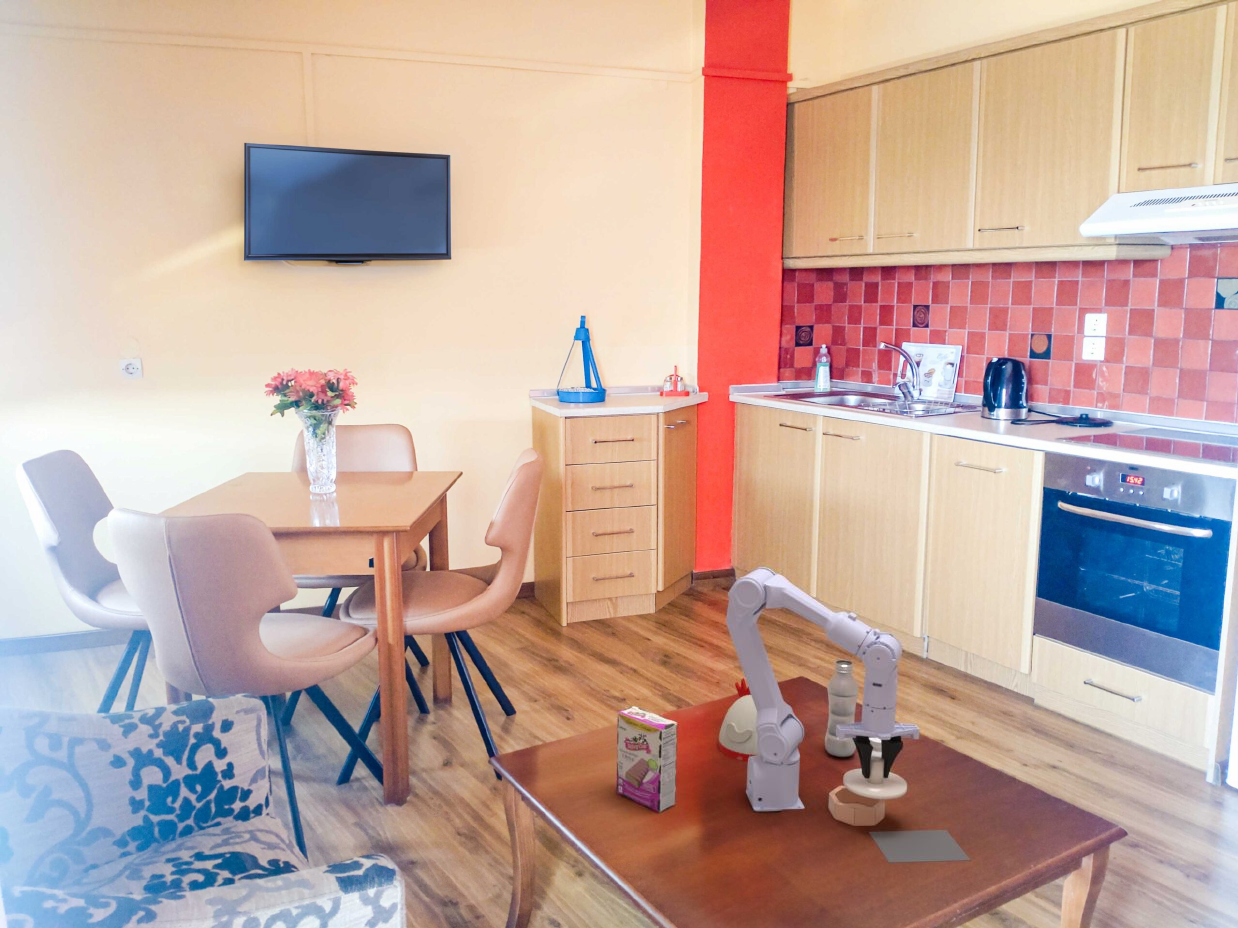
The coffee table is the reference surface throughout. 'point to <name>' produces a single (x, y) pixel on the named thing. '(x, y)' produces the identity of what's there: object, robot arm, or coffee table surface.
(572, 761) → the coffee table surface
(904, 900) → the coffee table surface
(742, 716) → the white and red dome
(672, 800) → the candy bar box
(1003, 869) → the coffee table surface
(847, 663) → the plastic bottle
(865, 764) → the robot arm
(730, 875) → the coffee table surface
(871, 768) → the lid
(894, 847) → the mat
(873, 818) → the bowl
